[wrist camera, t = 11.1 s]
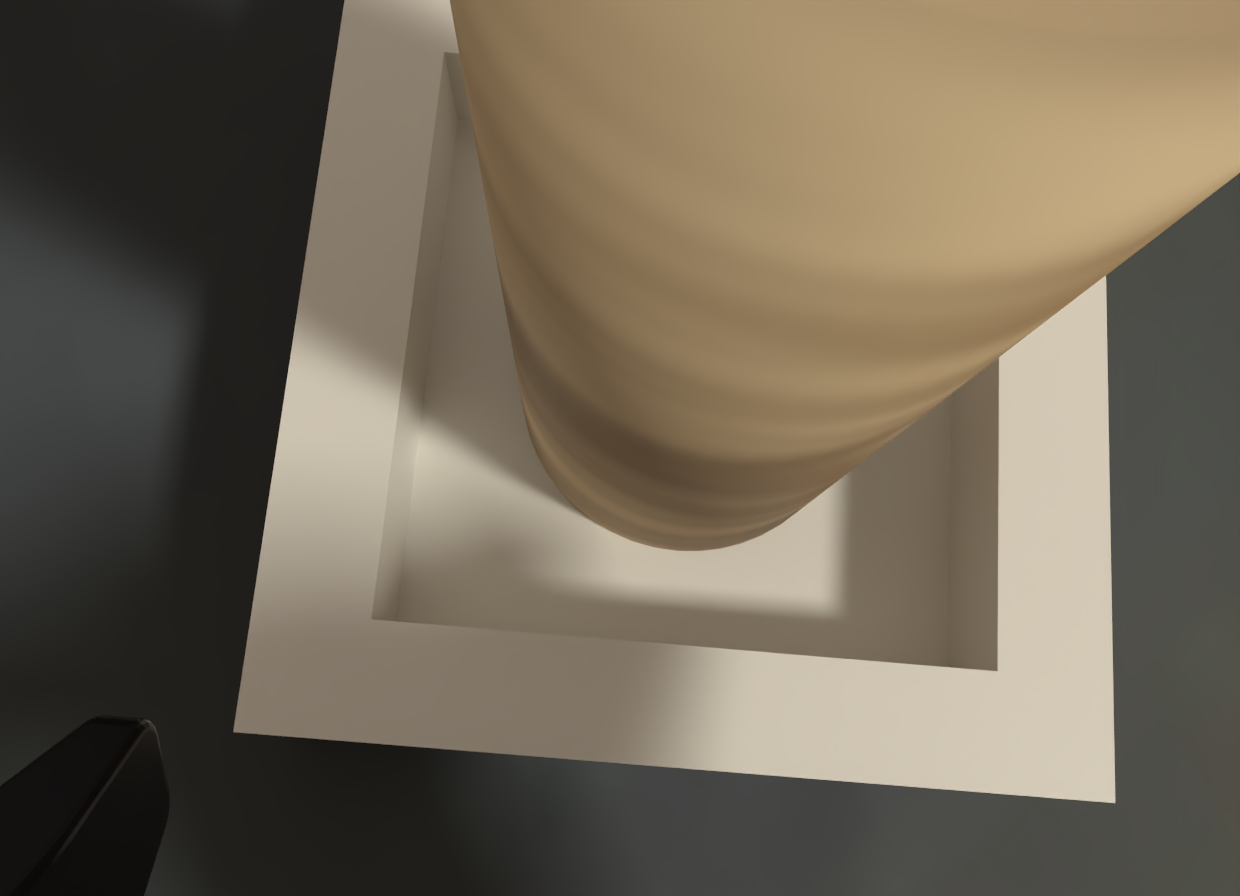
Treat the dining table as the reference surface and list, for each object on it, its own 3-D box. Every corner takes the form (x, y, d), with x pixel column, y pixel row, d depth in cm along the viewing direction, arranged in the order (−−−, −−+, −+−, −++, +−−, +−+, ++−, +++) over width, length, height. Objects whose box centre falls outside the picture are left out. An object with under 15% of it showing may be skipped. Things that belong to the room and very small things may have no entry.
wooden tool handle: (671, 621, 16) (1079, 362, 3) (454, 366, 16) (50, -717, 4) (917, 407, 17) (2037, -491, 4) (701, 172, 17) (1059, -1245, 5)
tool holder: (1032, 784, 16) (1115, 803, 14) (285, 724, 16) (233, 732, 13) (1031, 110, 18) (1101, 22, 16) (381, 48, 18) (352, -52, 16)
